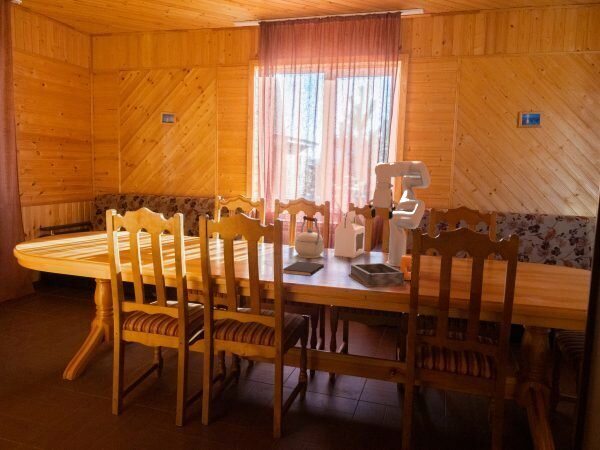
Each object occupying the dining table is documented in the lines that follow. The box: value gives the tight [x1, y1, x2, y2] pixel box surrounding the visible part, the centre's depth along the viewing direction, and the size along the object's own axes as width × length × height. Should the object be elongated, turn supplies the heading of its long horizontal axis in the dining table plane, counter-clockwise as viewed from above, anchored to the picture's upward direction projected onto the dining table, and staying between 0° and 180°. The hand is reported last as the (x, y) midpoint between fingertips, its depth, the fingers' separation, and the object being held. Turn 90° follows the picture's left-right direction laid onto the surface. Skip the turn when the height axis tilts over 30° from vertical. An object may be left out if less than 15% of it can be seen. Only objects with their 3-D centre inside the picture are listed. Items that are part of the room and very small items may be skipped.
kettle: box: [294, 215, 325, 259], centre depth 291 cm, size 25×18×25 cm
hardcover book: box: [282, 261, 325, 276], centre depth 255 cm, size 16×23×2 cm
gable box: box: [333, 210, 366, 258], centre depth 302 cm, size 22×13×28 cm, turn 155°
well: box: [348, 262, 407, 289], centre depth 234 cm, size 20×24×6 cm
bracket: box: [399, 255, 413, 281], centre depth 239 cm, size 11×7×12 cm, turn 158°
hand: (381, 218), depth 250 cm, fingers open, 9 cm apart
